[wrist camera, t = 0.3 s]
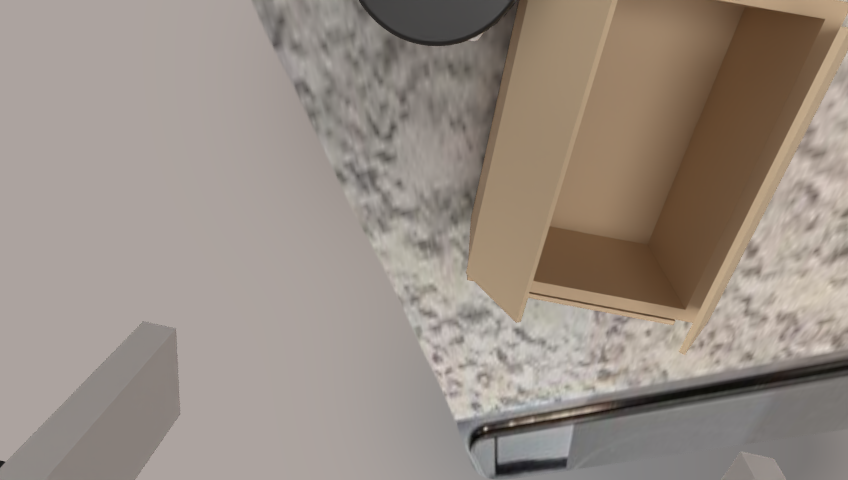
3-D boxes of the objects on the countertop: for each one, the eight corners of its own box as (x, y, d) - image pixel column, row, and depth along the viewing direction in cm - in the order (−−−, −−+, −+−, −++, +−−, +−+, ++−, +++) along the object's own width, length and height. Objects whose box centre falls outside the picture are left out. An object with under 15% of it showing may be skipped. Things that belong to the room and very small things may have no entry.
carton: (531, -56, 31) (546, -64, 23) (763, -16, 31) (858, -10, 23) (469, 223, 40) (465, 286, 32) (649, 257, 40) (690, 329, 32)
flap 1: (539, -27, 24) (534, -28, 23) (621, -13, 20) (616, -14, 20) (470, 272, 31) (465, 273, 31) (520, 321, 27) (516, 322, 27)
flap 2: (840, 26, 20) (850, 27, 20) (850, 28, 23) (858, 29, 23) (678, 351, 27) (684, 354, 27) (704, 316, 31) (709, 319, 31)
